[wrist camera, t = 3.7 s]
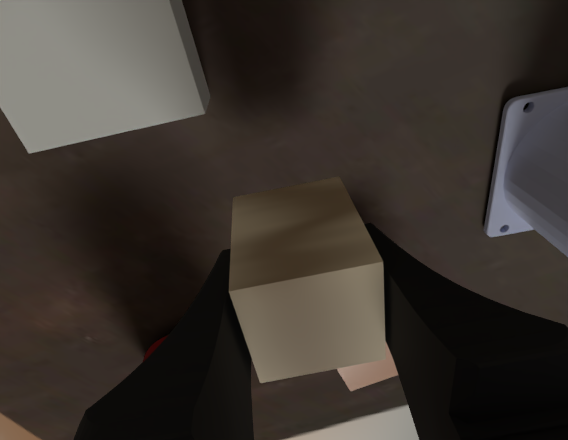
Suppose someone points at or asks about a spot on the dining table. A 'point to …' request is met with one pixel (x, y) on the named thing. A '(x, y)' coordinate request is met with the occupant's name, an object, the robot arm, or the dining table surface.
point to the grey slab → (96, 68)
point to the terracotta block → (369, 372)
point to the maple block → (306, 280)
